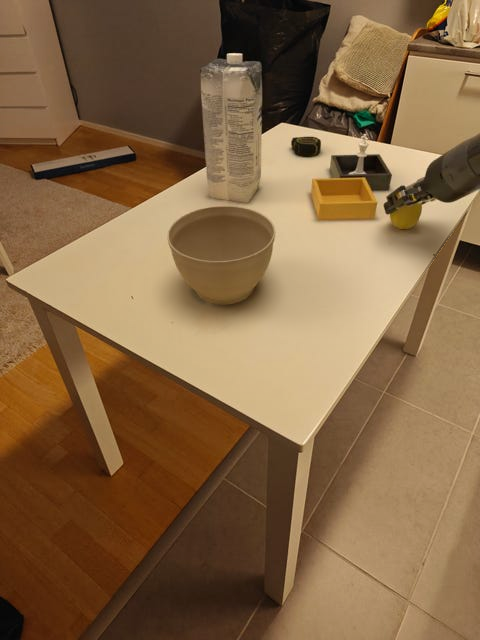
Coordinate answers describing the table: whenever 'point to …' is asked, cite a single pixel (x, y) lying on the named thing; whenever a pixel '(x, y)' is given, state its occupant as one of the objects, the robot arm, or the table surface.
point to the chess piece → (361, 155)
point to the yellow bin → (343, 199)
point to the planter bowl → (222, 251)
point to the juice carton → (232, 127)
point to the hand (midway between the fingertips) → (400, 205)
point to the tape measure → (306, 146)
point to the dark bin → (372, 166)
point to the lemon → (406, 216)
